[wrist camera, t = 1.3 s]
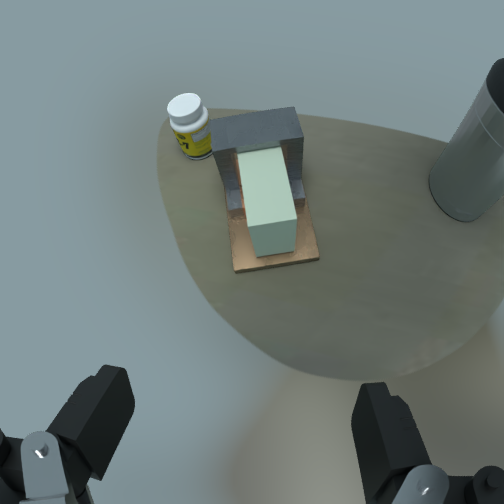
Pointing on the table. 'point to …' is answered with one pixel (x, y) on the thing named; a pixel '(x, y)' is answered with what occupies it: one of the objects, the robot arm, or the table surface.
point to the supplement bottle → (191, 125)
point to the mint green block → (268, 201)
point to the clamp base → (225, 153)
